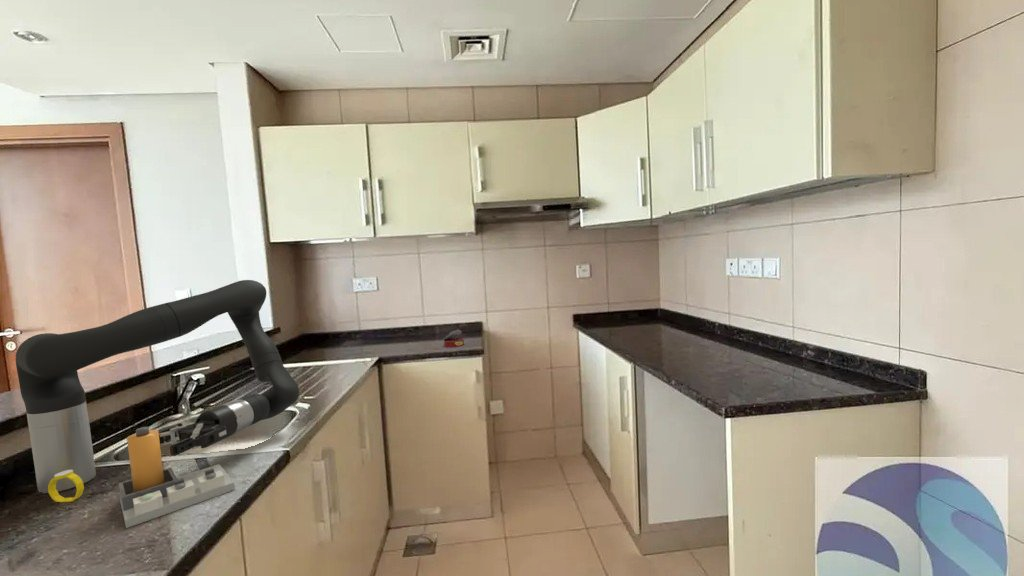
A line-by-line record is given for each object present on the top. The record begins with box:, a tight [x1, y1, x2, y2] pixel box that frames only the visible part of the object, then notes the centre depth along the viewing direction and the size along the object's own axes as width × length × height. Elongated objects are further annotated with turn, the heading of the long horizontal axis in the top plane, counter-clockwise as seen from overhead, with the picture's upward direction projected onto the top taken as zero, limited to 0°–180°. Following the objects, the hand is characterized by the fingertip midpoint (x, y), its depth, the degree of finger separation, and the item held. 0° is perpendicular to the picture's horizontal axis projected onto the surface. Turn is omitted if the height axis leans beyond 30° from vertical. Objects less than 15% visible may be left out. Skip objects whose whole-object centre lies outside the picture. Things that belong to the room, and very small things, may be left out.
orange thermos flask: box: [126, 426, 165, 493], centre depth 89 cm, size 5×5×13 cm
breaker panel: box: [118, 463, 236, 529], centre depth 91 cm, size 13×17×4 cm
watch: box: [47, 470, 85, 503], centre depth 92 cm, size 6×3×6 cm, turn 91°
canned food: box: [443, 329, 465, 348], centre depth 229 cm, size 11×10×10 cm
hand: (155, 449), depth 91 cm, fingers open, 8 cm apart
